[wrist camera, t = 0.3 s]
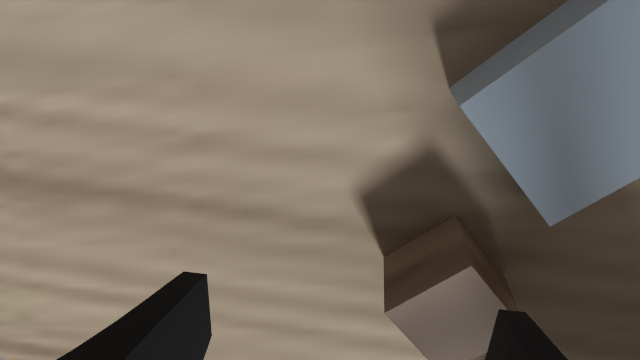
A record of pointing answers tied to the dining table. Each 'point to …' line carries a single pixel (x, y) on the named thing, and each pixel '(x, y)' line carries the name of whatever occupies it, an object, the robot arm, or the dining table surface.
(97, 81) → the dining table surface
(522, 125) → the base block
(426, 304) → the walnut cube
